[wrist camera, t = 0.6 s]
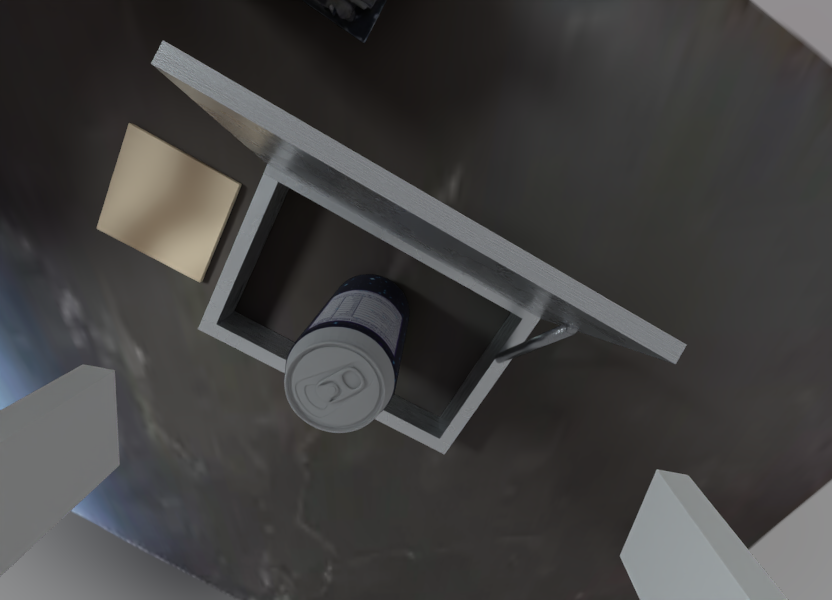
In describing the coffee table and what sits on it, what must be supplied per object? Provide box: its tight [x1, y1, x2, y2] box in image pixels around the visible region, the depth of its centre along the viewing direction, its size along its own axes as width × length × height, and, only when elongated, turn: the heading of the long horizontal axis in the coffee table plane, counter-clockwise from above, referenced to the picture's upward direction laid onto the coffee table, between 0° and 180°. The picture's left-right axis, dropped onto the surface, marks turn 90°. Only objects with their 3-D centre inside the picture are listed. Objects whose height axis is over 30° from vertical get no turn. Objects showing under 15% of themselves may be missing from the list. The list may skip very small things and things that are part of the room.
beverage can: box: [284, 274, 409, 433], centre depth 26 cm, size 6×6×12 cm
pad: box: [96, 123, 242, 282], centre depth 30 cm, size 8×8×1 cm
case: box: [151, 41, 687, 454], centre depth 24 cm, size 20×17×16 cm
